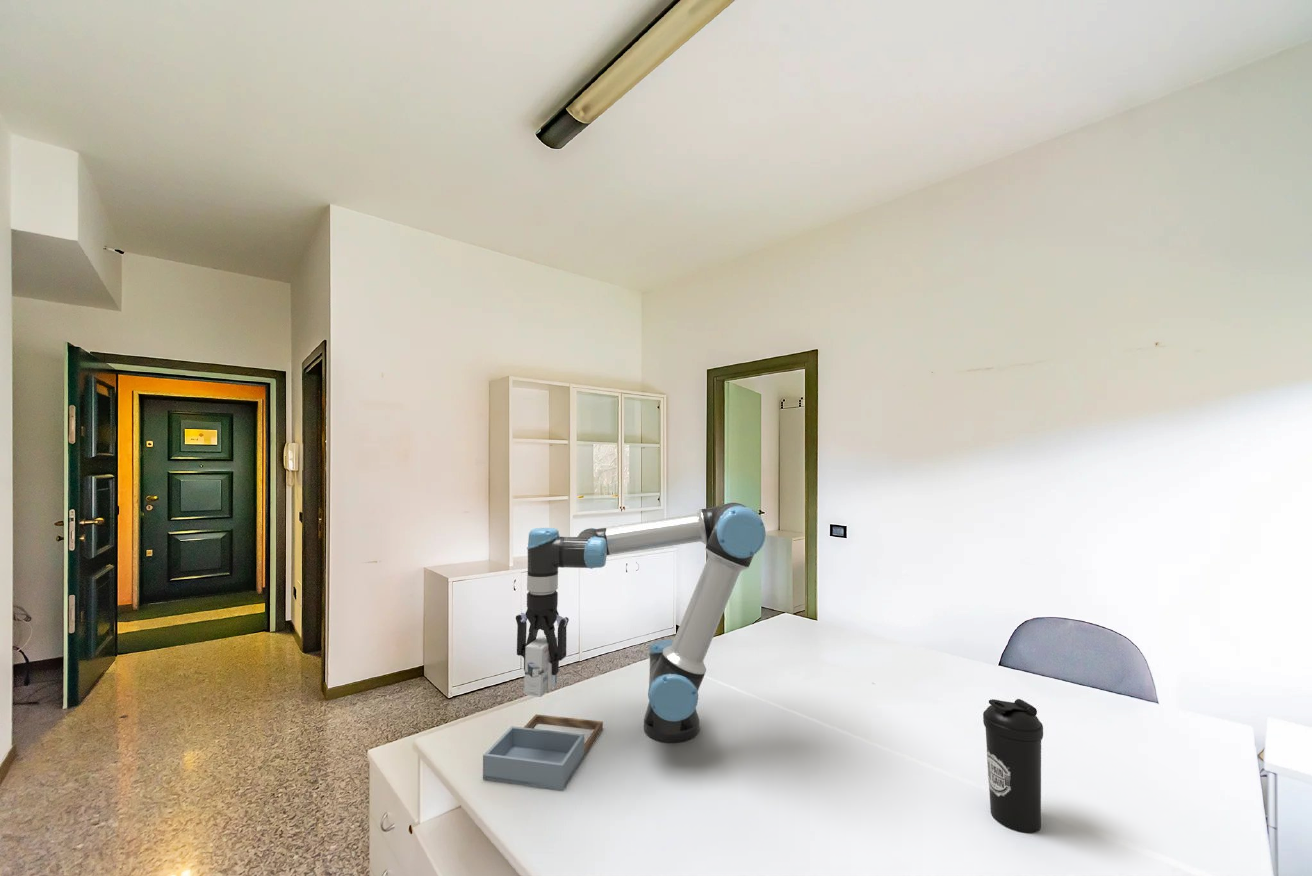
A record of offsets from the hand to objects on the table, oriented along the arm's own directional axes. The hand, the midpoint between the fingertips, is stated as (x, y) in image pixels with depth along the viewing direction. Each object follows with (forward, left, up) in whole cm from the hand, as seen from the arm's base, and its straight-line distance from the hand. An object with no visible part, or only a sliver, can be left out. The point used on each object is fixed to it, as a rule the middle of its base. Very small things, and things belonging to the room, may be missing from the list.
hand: (540, 685), depth 133 cm
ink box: (0, 0, -1) cm, 1 cm away
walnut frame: (-1, -9, -17) cm, 20 cm away
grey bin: (-1, +5, -17) cm, 18 cm away
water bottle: (-104, +1, -17) cm, 105 cm away
